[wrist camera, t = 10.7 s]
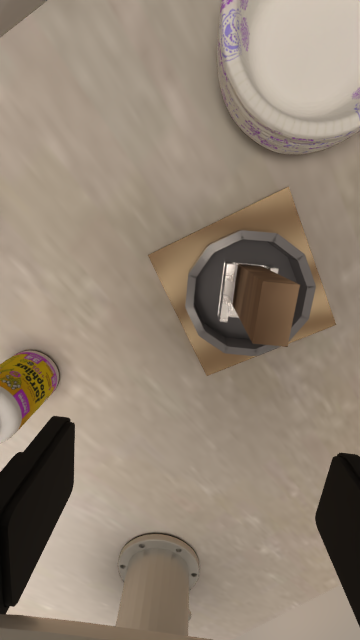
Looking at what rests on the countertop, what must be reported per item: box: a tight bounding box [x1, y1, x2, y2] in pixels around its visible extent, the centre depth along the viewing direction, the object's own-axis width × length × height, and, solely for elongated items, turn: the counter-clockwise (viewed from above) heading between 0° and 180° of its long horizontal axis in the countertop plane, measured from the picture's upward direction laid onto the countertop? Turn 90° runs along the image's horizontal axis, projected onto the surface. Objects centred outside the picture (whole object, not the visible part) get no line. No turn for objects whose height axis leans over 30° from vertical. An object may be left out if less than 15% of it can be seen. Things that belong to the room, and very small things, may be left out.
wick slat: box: [232, 264, 300, 347], centre depth 26 cm, size 2×4×12 cm, turn 175°
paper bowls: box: [217, 0, 360, 154], centre depth 23 cm, size 15×15×8 cm
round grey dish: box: [185, 230, 316, 356], centre depth 31 cm, size 13×13×4 cm
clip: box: [218, 262, 279, 322], centre depth 31 cm, size 5×6×3 cm
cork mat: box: [148, 187, 336, 376], centre depth 33 cm, size 16×16×1 cm
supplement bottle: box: [0, 351, 59, 443], centre depth 31 cm, size 7×7×13 cm
